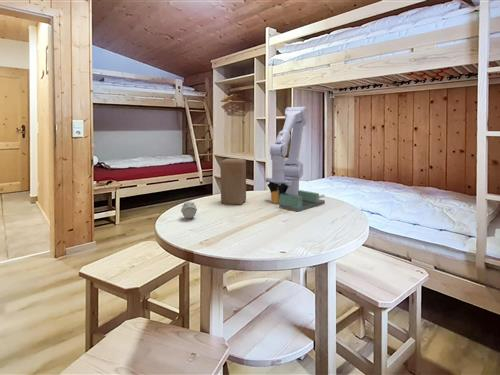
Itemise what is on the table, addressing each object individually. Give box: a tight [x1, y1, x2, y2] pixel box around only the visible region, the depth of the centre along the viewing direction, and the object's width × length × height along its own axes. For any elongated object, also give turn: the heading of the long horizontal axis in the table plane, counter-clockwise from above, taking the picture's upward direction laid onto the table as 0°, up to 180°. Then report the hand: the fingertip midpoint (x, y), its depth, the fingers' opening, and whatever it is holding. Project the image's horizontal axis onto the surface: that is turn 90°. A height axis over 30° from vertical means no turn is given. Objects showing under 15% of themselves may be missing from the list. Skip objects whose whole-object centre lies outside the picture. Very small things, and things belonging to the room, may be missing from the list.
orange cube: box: [270, 189, 280, 205], centre depth 156 cm, size 4×5×5 cm
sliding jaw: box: [298, 189, 325, 203], centre depth 154 cm, size 10×7×4 cm
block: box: [219, 158, 247, 206], centre depth 154 cm, size 10×10×20 cm
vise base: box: [278, 193, 326, 212], centre depth 149 cm, size 10×20×6 cm, turn 134°
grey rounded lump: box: [180, 200, 198, 219], centre depth 129 cm, size 6×7×7 cm
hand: (277, 199), depth 156 cm, fingers closed on orange cube, 4 cm apart
